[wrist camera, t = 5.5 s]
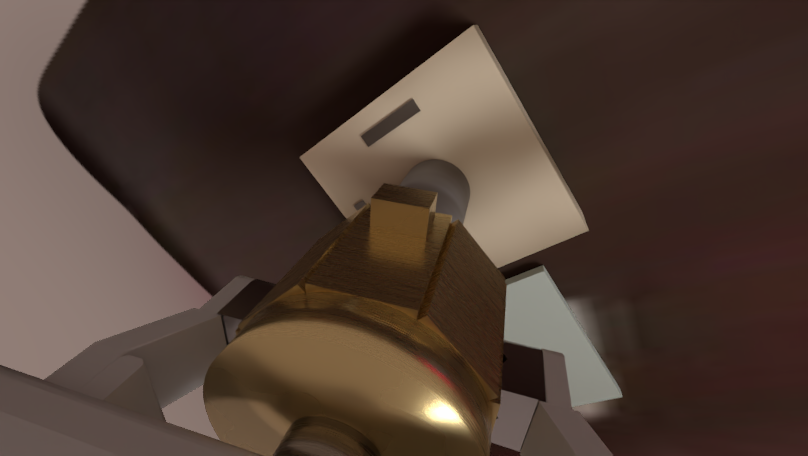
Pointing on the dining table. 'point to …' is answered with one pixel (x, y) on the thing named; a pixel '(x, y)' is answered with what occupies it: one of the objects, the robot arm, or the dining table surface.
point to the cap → (370, 343)
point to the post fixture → (455, 153)
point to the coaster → (556, 334)
